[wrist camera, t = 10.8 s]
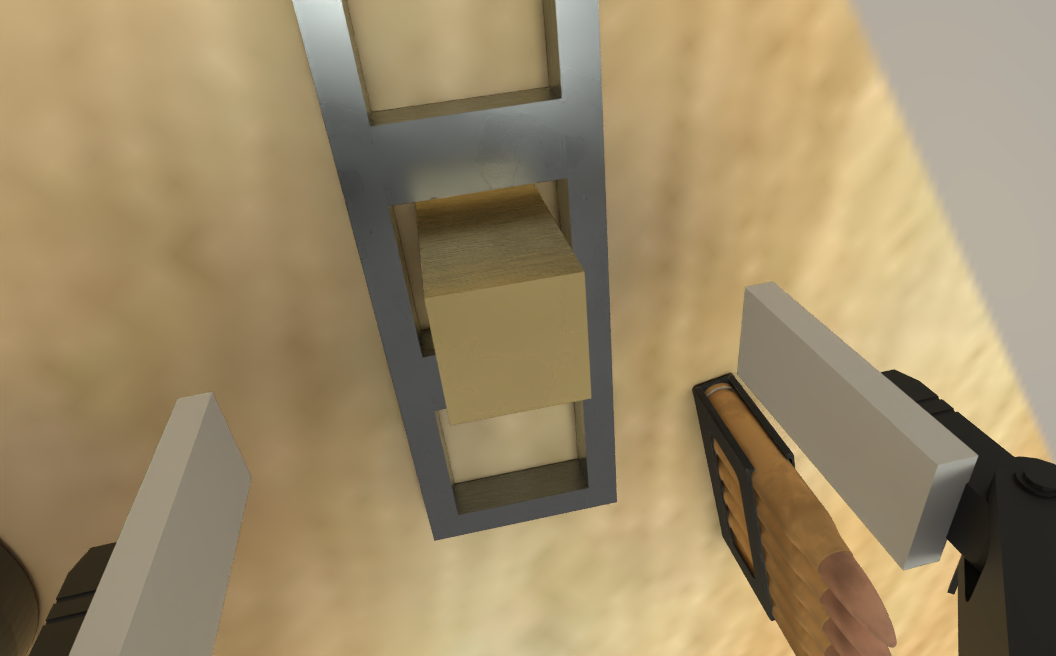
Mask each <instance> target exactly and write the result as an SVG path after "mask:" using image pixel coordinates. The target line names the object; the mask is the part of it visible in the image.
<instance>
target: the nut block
mask: <svg viewBox="0 0 1056 656" xmlns="http://www.w3.org/2000/svg"><path fill="white" fill-rule="evenodd" d="M416 213H417V224H418V236H419V247H420V258H421V269H422V280H423V291H424V300H425V305H426V310H427V315H428V320H429V324H430V329H431V334H432V339H433V344H434V349H435V353H436V358H437V363H438V368H439V373H440V378H441V382H442V387H443V392H444V397H445V402H446V407H447V412H448V416H449V421H450V425H454V424H460V423H465V422H470V421H475V420H481V419H486V418H491V417H496V416H501V415H507V414H512V413H517V412H522V411H528V410H533V409H538V408H543V407H549V406H554V405H559V404H564V403H570V402H575V401H580V400H585V399H591V381H590V362H589V343H588V324H587V305H586V286H585V271H584V270H583V268H582V266H581V264H580V263H579V261H578V259H577V258H576V256H575V254H574V252H573V251H572V249H571V247H570V246H569V244H568V242H567V241H566V239H565V237H564V235H563V234H562V232H561V230H560V229H559V227H558V225H557V223H556V222H555V220H554V218H553V217H552V215H551V213H550V211H549V210H548V208H547V206H546V205H545V203H544V201H543V199H542V198H541V196H540V194H539V193H538V191H537V189H536V188H535V186H534V184H526V185H520V186H514V187H507V188H501V189H495V190H488V191H482V192H476V193H469V194H463V195H457V196H450V197H444V198H438V199H432V200H425V201H419V202H416Z"/></svg>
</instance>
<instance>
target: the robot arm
mask: <svg viewBox="0 0 1056 656" xmlns="http://www.w3.org/2000/svg"><path fill="white" fill-rule="evenodd" d="M737 375H738V376H739V377H740V378H741V379H742V380H743V382H744V383H745V384H746V385H747V386H748V388H749V389H750V390H751V391H752V392H753V393H754V395H755V396H756V397H757V398H758V399H759V401H760V402H761V403H762V404H763V405H764V406H765V408H766V409H767V410H768V411H769V412H770V414H771V415H772V416H773V417H774V418H775V419H776V421H777V422H778V423H779V424H780V425H781V427H782V428H783V429H784V430H785V431H786V432H787V434H788V435H789V436H790V437H791V438H792V440H793V441H794V442H795V443H796V444H797V445H798V447H799V448H800V449H801V450H802V451H803V453H804V454H805V455H806V456H807V457H808V458H809V460H810V461H811V462H812V463H813V464H814V466H815V467H816V468H817V469H818V470H819V471H820V473H821V474H822V475H823V476H824V477H825V479H826V480H827V481H828V482H829V483H830V485H831V486H832V487H833V488H834V489H835V490H836V492H837V493H838V494H839V495H840V496H841V498H842V499H843V500H844V501H845V502H846V503H847V505H848V506H849V507H850V508H851V509H852V511H853V512H854V513H855V514H856V515H857V516H858V518H859V519H860V520H861V521H862V522H863V524H864V525H865V526H866V527H867V528H868V529H869V531H870V532H871V533H872V534H873V535H874V537H875V538H876V539H877V540H878V541H879V542H880V544H881V545H882V546H883V547H884V548H885V550H886V551H887V552H888V553H889V554H890V555H891V557H892V558H893V559H894V560H895V561H896V563H897V564H898V565H899V566H900V567H901V568H902V570H907V569H911V568H915V567H918V566H922V565H926V564H930V563H934V562H937V561H939V560H940V557H941V555H942V552H943V549H944V547H945V544H946V541H947V539H948V541H949V542H950V543H951V544H952V545H953V546H954V547H955V548H956V549H957V550H958V551H959V552H960V553H961V554H962V555H961V558H960V560H959V563H958V565H957V568H956V570H955V573H954V575H953V578H952V580H951V583H950V586H949V589H948V593H951V594H955V591H956V589H957V586H958V652H959V656H1056V465H1055V464H1053V463H1050V462H1046V461H1043V460H1040V459H1037V458H1029V457H1014V456H1012V455H1011V454H1010V453H1009V452H1007V451H1006V450H1005V449H1004V448H1002V447H1001V446H1000V445H999V444H997V443H996V442H995V441H994V440H992V439H991V438H990V437H989V436H987V435H986V434H985V433H984V432H982V431H981V430H980V429H979V428H977V427H976V426H975V425H974V424H972V423H971V422H970V421H969V420H967V419H966V418H965V417H964V416H962V415H961V414H960V413H959V412H955V411H954V408H952V407H951V406H950V405H949V404H947V403H946V402H945V401H944V400H942V399H940V400H939V398H938V396H937V395H936V394H935V393H934V392H932V391H931V390H930V389H929V388H928V387H926V386H925V385H924V384H923V383H921V382H920V381H918V380H916V379H914V378H912V377H910V376H907V375H905V374H903V373H901V372H899V371H897V370H889V371H885V372H879V371H878V370H877V369H876V368H875V367H873V366H872V365H871V364H870V363H869V362H867V361H866V360H865V359H864V358H863V357H862V356H860V355H859V354H858V353H857V352H856V351H854V350H853V349H852V348H851V347H850V346H849V345H847V344H846V343H845V342H844V341H843V340H841V339H840V338H839V337H838V336H837V335H836V334H834V333H833V332H832V331H831V330H830V329H828V328H827V327H826V326H825V325H824V324H823V323H821V322H820V321H819V320H818V319H817V318H815V317H814V316H813V315H812V314H811V313H810V312H808V311H807V310H806V309H805V308H804V307H802V306H801V305H800V304H799V303H798V302H797V301H795V300H794V299H793V298H792V297H791V296H790V295H788V294H787V293H786V292H785V291H784V290H782V289H781V288H780V287H779V286H778V285H777V284H775V283H774V282H768V283H763V284H758V285H753V286H748V287H745V294H744V304H743V315H742V326H741V337H740V347H739V358H738V369H737ZM251 478H252V477H251V475H250V473H249V471H248V469H247V466H246V464H245V462H244V460H243V458H242V455H241V453H240V451H239V449H238V447H237V444H236V442H235V440H234V438H233V436H232V434H231V431H230V429H229V427H228V425H227V423H226V420H225V418H224V416H223V414H222V412H221V409H220V407H219V405H218V403H217V401H216V398H215V396H214V394H213V392H208V393H203V394H198V395H193V396H188V397H183V398H178V399H177V401H176V404H175V406H174V408H173V411H172V413H171V415H170V418H169V420H168V423H167V425H166V427H165V430H164V432H163V434H162V437H161V439H160V441H159V444H158V446H157V448H156V451H155V453H154V456H153V458H152V460H151V463H150V465H149V467H148V470H147V472H146V474H145V477H144V479H143V481H142V484H141V486H140V489H139V491H138V493H137V496H136V498H135V500H134V503H133V505H132V507H131V510H130V512H129V515H128V517H127V519H126V522H125V524H124V526H123V529H122V531H121V533H120V536H119V538H118V540H117V542H115V543H110V544H106V545H101V546H97V547H92V548H90V549H89V550H88V552H87V553H86V554H85V555H84V556H83V557H82V558H81V559H80V561H79V562H78V563H77V564H76V565H75V566H74V567H73V568H72V570H71V571H70V572H69V573H68V575H67V577H66V579H65V581H64V583H63V585H62V587H61V590H60V592H59V594H58V596H57V598H56V600H57V602H56V604H53V606H52V608H51V610H50V612H49V615H48V617H47V619H46V625H44V626H43V627H42V629H41V631H40V633H39V635H38V637H37V640H36V642H35V644H34V646H33V648H32V650H31V652H30V654H29V656H212V653H213V649H214V644H215V640H216V635H217V631H218V626H219V622H220V617H221V613H222V608H223V604H224V599H225V595H226V590H227V586H228V581H229V577H230V573H231V568H232V564H233V559H234V555H235V550H236V546H237V541H238V537H239V532H240V528H241V523H242V519H243V514H244V510H245V505H246V501H247V496H248V492H249V487H250V483H251ZM37 625H38V606H37V600H36V597H35V593H34V590H33V588H32V586H31V584H30V581H29V580H28V578H27V576H26V575H25V573H24V571H23V570H22V568H21V567H20V566H19V564H18V563H17V562H16V561H15V559H14V558H13V557H12V556H11V555H10V554H9V553H8V552H7V551H6V550H5V549H4V548H3V547H2V546H1V545H0V656H25V655H26V653H27V651H28V649H29V647H30V645H31V643H32V641H33V639H34V636H35V634H36V630H37Z"/></svg>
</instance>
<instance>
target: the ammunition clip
mask: <svg viewBox="0 0 1056 656" xmlns="http://www.w3.org/2000/svg"><path fill="white" fill-rule="evenodd" d="M692 390H693V395H694V400H695V404H696V409H697V414H698V419H699V424H700V429H701V433H702V438H703V443H704V448H705V453H706V458H707V463H708V467H709V472H710V477H711V482H712V487H713V492H714V496H715V501H716V506H717V511H718V516H719V521H720V526H721V530H722V535H723V538H724V540H725V541H726V543H727V545H728V547H729V548H730V550H731V552H732V554H733V555H734V557H735V559H736V561H737V562H738V564H739V566H740V568H741V570H742V571H743V573H744V575H745V577H746V578H747V580H748V582H749V584H750V585H751V587H752V589H753V591H754V592H755V594H756V596H757V598H758V599H759V601H760V603H761V605H762V606H763V608H764V610H765V612H766V613H767V615H768V617H769V619H770V620H771V621H774V620H776V622H777V624H778V625H779V627H780V629H781V631H782V632H783V634H784V636H785V638H786V639H787V641H788V643H789V645H790V646H791V648H792V650H793V651H794V653H795V655H796V656H891V653H890V651H889V648H888V646H889V647H892V648H893V647H895V646H896V644H897V642H896V636H895V632H894V628H893V625H892V622H891V620H890V618H889V615H888V613H887V611H886V608H885V606H884V604H883V602H882V600H881V598H880V597H879V595H878V593H877V591H876V590H875V588H874V586H873V585H872V583H871V581H870V580H869V578H868V577H867V575H866V574H865V572H864V571H863V569H862V568H861V567H860V565H859V564H858V563H857V561H856V560H855V558H854V557H853V554H852V553H851V551H850V550H849V548H848V547H847V545H846V544H845V542H844V541H843V539H842V538H841V536H840V534H839V532H838V530H837V528H836V526H835V524H834V522H833V520H832V518H831V516H830V515H829V513H828V512H827V510H826V509H825V508H824V506H823V505H822V504H821V503H820V501H819V500H818V499H817V497H816V496H815V495H814V493H813V492H812V491H811V489H810V488H809V487H808V485H807V484H806V483H805V481H804V480H803V479H802V477H801V476H800V475H799V473H798V472H797V471H796V469H795V463H794V455H793V453H792V452H791V450H790V449H789V448H788V446H787V445H786V444H785V443H784V441H783V440H782V439H781V437H780V436H779V435H778V433H777V432H776V431H775V429H774V428H773V427H772V425H771V424H770V423H769V422H768V420H767V419H766V418H765V416H764V415H763V414H762V412H761V411H760V410H759V408H758V407H757V406H756V404H755V403H754V402H753V400H752V399H751V398H750V397H749V395H748V394H747V393H746V391H745V390H744V389H743V387H742V386H741V385H740V383H739V382H738V381H737V379H736V378H735V377H734V376H733V374H729V375H727V376H724V377H721V378H718V379H716V380H713V381H710V382H707V383H705V384H702V385H699V386H696V387H695V388H694V389H692Z"/></svg>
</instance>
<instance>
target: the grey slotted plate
mask: <svg viewBox="0 0 1056 656" xmlns="http://www.w3.org/2000/svg"><path fill="white" fill-rule="evenodd" d="M292 1H293V5H294V9H295V13H296V17H297V20H298V24H299V28H300V32H301V36H302V39H303V43H304V47H305V51H306V55H307V58H308V62H309V66H310V70H311V73H312V77H313V81H314V85H315V89H316V92H317V96H318V100H319V104H320V108H321V111H322V115H323V119H324V123H325V127H326V130H327V134H328V138H329V142H330V146H331V149H332V153H333V157H334V161H335V165H336V168H337V172H338V176H339V180H340V184H341V187H342V191H343V195H344V199H345V203H346V206H347V210H348V214H349V218H350V222H351V225H352V229H353V233H354V237H355V241H356V244H357V248H358V252H359V256H360V260H361V263H362V267H363V271H364V275H365V279H366V282H367V286H368V290H369V294H370V298H371V301H372V305H373V309H374V313H375V317H376V320H377V324H378V328H379V332H380V336H381V339H382V343H383V347H384V351H385V355H386V358H387V362H388V366H389V370H390V374H391V377H392V381H393V385H394V389H395V393H396V396H397V400H398V404H399V408H400V412H401V415H402V419H403V423H404V427H405V431H406V434H407V438H408V442H409V446H410V450H411V453H412V457H413V461H414V465H415V469H416V472H417V476H418V480H419V484H420V488H421V491H422V495H423V499H424V503H425V507H426V510H427V514H428V518H429V522H430V526H431V529H432V533H433V537H434V541H435V540H440V539H445V538H450V537H454V536H459V535H464V534H468V533H473V532H478V531H483V530H487V529H492V528H497V527H501V526H506V525H511V524H516V523H520V522H525V521H530V520H534V519H539V518H544V517H549V516H553V515H558V514H563V513H567V512H572V511H577V510H582V509H586V508H591V507H596V506H600V505H605V504H610V503H615V502H617V493H616V466H615V438H614V411H613V384H612V356H611V329H610V302H609V274H608V247H607V220H606V192H605V165H604V138H603V110H602V83H601V56H600V28H599V1H598V0H543V11H544V24H545V36H546V49H547V62H548V75H549V87H545V88H538V89H531V90H524V91H517V92H510V93H503V94H496V95H489V96H482V97H475V98H468V99H461V100H454V101H447V102H440V103H433V104H426V105H419V106H412V107H405V108H398V109H391V110H384V111H377V112H371V107H370V103H369V99H368V94H367V90H366V85H365V81H364V76H363V72H362V67H361V63H360V58H359V54H358V49H357V45H356V40H355V36H354V31H353V27H352V22H351V18H350V13H349V9H348V4H347V0H292ZM551 180H557V191H558V203H559V216H560V229H561V232H562V234H563V235H564V237H565V239H566V241H567V242H568V244H569V246H570V247H571V249H572V251H573V252H574V254H575V256H576V258H577V259H578V261H579V263H580V264H581V266H582V268H583V270H584V271H585V286H586V305H587V324H588V343H589V362H590V381H591V399H585V400H580V401H575V402H574V409H575V422H576V435H577V447H578V459H577V460H572V461H567V462H562V463H557V464H552V465H547V466H542V467H538V468H533V469H528V470H523V471H518V472H513V473H508V474H503V475H498V476H493V477H488V478H484V479H479V480H474V481H469V482H464V483H459V484H454V480H453V475H452V471H451V466H450V462H449V457H448V453H447V448H446V444H445V439H444V435H443V430H442V426H441V421H440V417H439V412H438V410H441V409H446V408H447V407H446V402H445V397H444V392H443V387H442V382H441V378H440V373H439V368H438V363H437V358H436V353H435V349H434V344H433V339H432V334H431V329H430V330H425V331H420V327H419V323H418V318H417V314H416V309H415V305H414V300H413V296H412V291H411V287H410V282H409V278H408V273H407V269H406V264H405V260H404V255H403V251H402V247H401V242H400V238H399V233H398V229H397V224H396V220H395V215H394V211H393V206H394V205H400V204H406V203H413V202H419V201H425V200H432V199H438V198H444V197H450V196H457V195H463V194H469V193H476V192H482V191H488V190H495V189H501V188H507V187H514V186H520V185H526V184H533V183H539V182H545V181H551Z"/></svg>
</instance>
